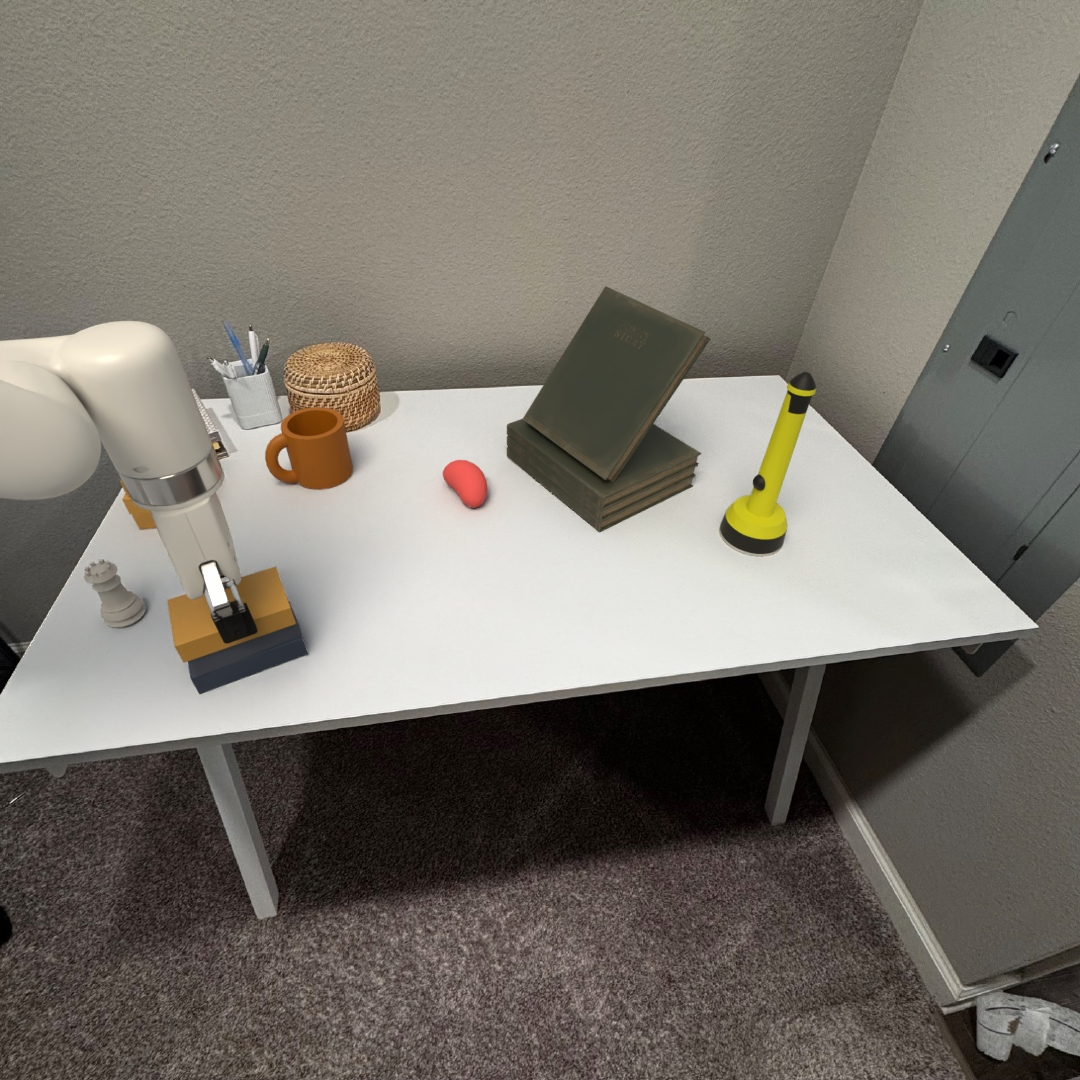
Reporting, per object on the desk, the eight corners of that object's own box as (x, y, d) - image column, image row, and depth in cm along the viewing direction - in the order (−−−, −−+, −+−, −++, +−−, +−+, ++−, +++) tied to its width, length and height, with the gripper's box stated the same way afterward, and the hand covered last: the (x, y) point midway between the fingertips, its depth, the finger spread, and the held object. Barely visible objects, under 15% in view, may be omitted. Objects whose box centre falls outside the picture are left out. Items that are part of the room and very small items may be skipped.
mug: (269, 467, 97) (253, 416, 91) (347, 452, 101) (337, 402, 95) (276, 500, 91) (260, 448, 85) (359, 482, 95) (349, 431, 89)
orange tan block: (183, 663, 62) (174, 646, 60) (175, 616, 67) (166, 599, 65) (296, 624, 66) (290, 607, 65) (281, 582, 71) (275, 566, 69)
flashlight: (815, 352, 77) (752, 360, 74) (864, 386, 70) (797, 395, 68) (760, 510, 93) (707, 521, 91) (796, 549, 87) (740, 561, 85)
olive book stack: (506, 457, 101) (506, 303, 85) (597, 422, 111) (613, 278, 94) (598, 533, 88) (619, 368, 71) (693, 486, 97) (731, 331, 81)
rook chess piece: (135, 630, 72) (106, 582, 67) (97, 629, 72) (64, 580, 67) (154, 602, 75) (128, 554, 70) (117, 601, 75) (88, 552, 70)
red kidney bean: (483, 483, 98) (464, 448, 95) (500, 496, 90) (480, 460, 87) (455, 500, 97) (435, 466, 95) (470, 516, 90) (448, 479, 87)
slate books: (199, 695, 66) (181, 662, 62) (191, 650, 70) (173, 617, 66) (309, 655, 70) (298, 622, 67) (295, 615, 75) (284, 582, 71)
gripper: (117, 433, 58) (183, 565, 69) (130, 544, 47) (206, 679, 58) (204, 414, 61) (254, 544, 72) (236, 514, 50) (288, 649, 61)
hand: (232, 604), depth 65 cm, fingers open, 9 cm apart
